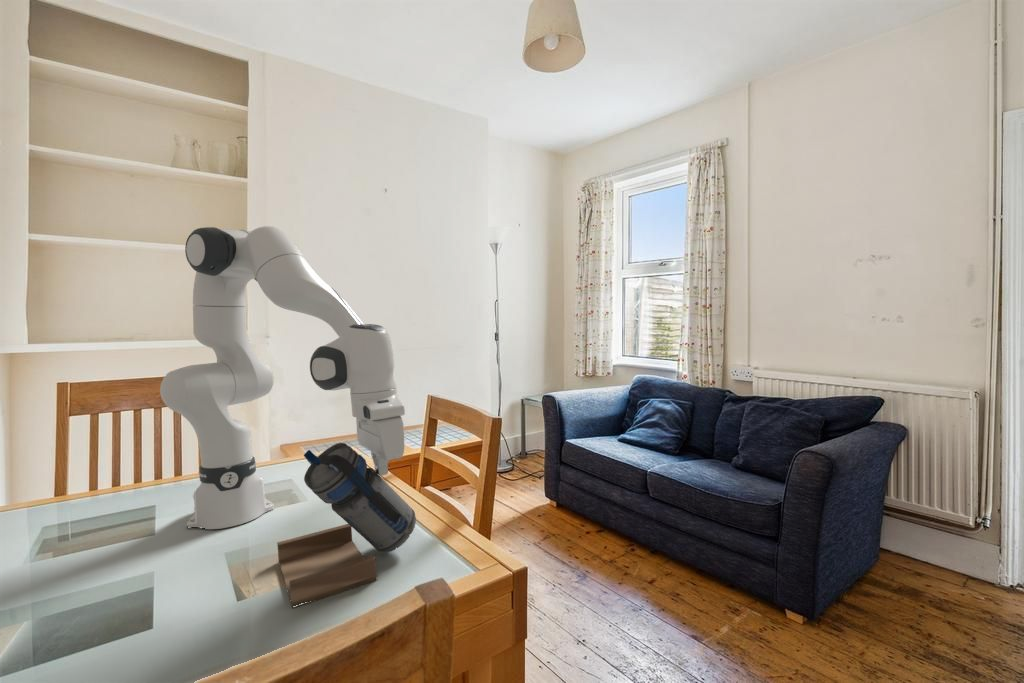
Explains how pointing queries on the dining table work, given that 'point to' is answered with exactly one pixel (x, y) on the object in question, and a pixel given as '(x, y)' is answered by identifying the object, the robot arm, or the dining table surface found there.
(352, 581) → the walnut cradle
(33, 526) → the dining table surface
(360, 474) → the beverage bottle
